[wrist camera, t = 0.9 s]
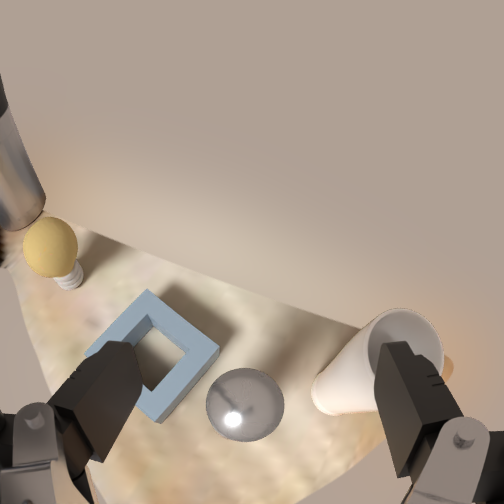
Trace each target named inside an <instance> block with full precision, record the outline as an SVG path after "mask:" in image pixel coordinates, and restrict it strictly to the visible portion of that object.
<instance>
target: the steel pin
mask: <svg viewBox="0 0 504 504" xmlns="http://www.w3.org/2000/svg"><path fill="white" fill-rule="evenodd" d="M206 411H207V415H208V418H209V420H210V422H211V424H212V426H213V428H214V430H215V431H216V433H217V434H218V435H220V436H221V437H223V438H226V439H230V440H235V441H240V442H251V441H256V440H259V439H262V438H264V437H266V436H268V435H269V434H270V433H272V432H273V431H274V430H275V429H276V427H277V426H278V425H279V423H280V421H281V419H282V416H283V413H284V398H283V394H282V392H281V390H280V388H279V386H278V385H277V383H276V382H275V381H274V380H273V379H272V378H271V377H269V376H268V375H267V374H265V373H263V372H261V371H258V370H255V369H250V368H239V369H234V370H231V371H228V372H226V373H224V374H223V375H221V376H220V377H219V378H217V379H216V380H215V382H214V383H213V384H212V386H211V387H210V389H209V391H208V394H207V398H206Z"/></svg>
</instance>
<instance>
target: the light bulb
mask: <svg viewBox="0 0 504 504" xmlns="http://www.w3.org/2000/svg"><path fill="white" fill-rule="evenodd" d="M23 251H24V256H25V259H26V261H27V263H28V265H29V266H30V267H31V269H32V270H33V271H34V272H36V273H37V274H39V275H41V276H44V277H48V278H54V280H55V281H56V282H57V284H58V285H59V286H60V287H61V288H62V289H64V290H73V289H75V288H77V287H78V286H79V285H80V284H81V282H82V280H83V275H84V273H83V269H82V267H81V266H80V264H79V263H78V261H77V259H76V257H77V251H78V244H77V238H76V236H75V233H74V231H73V230H72V228H71V227H70V226H69V225H68V224H67V223H66V222H64V221H62V220H61V219H58V218H54V217H45V218H43V219H40V220H39V221H37V222H36V223H35V224H34V225H33V226H32V227H31V228H30V229H29V230H28V232H27V234H26V235H25V238H24V241H23Z"/></svg>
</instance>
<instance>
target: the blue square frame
mask: <svg viewBox="0 0 504 504" xmlns="http://www.w3.org/2000/svg"><path fill="white" fill-rule="evenodd" d="M153 326H154V327H155V328H156V329H158V330H159V331H160V332H161V333H162V334H163V335H165V336H166V337H167V338H168V339H169V340H171V341H172V342H173V343H174V344H176V345H177V346H178V347H179V348H180V349H182V350H183V351H184V352H185V353H186V354H185V355H184V356H183V357H182V358H181V359H180V361H179V362H178V363H177V364H176V365H175V366H174V367H173V369H172V370H171V371H170V372H169V373H168V374H167V375H166V376H165V378H164V379H163V380H162V381H161V382H160V383H159V384H158V386H157V387H156V388H155V389H154V390H153V391H150V390H149V389H148V388H147V387H146V386H145V385H144V384H143V388H142V393H141V395H140V397H139V399H138V401H137V403H136V404H135V405H136V406H137V407H138V408H139V409H140V410H141V411H142V412H143V413H145V414H146V415H147V416H148V417H149V418H150V419H152V420H153V421H154V422H156V423H160V424H161V423H162V422H163V421H164V420H165V419H166V418H167V417H168V415H169V414H170V413H171V412H172V411H173V410H174V409H175V407H176V406H177V405H178V404H179V403H180V402H181V400H182V399H183V398H184V397H185V396H186V395H187V393H188V392H189V391H190V390H191V389H192V388H193V386H194V385H195V384H196V383H197V382H198V381H199V379H200V378H201V377H202V376H203V375H204V373H205V372H206V371H207V370H208V369H209V368H210V366H211V365H212V364H213V363H214V362H215V360H216V359H217V358H218V357H219V353H220V346H219V345H217V344H216V343H215V342H213V341H212V340H211V339H209V338H208V337H207V336H206V335H204V334H203V333H202V332H200V331H199V330H198V329H196V328H195V327H194V326H193V325H191V324H190V323H189V322H187V321H186V320H185V319H184V318H182V317H181V316H180V315H179V314H177V313H176V312H175V311H174V310H172V309H171V308H170V307H169V306H168V305H166V304H165V303H164V302H163V301H161V300H160V299H159V298H158V297H157V296H155V295H154V294H153V293H152V292H151V291H150V290H148V289H146V290H145V291H144V292H143V293H142V294H141V295H140V296H139V297H138V298H137V299H136V300H135V301H134V302H133V303H132V304H131V305H130V306H129V307H128V308H127V309H126V310H125V311H124V312H123V313H122V314H121V315H120V316H119V317H118V318H117V319H116V320H115V321H114V322H113V323H112V324H111V325H110V327H109V328H108V329H107V330H106V331H105V332H104V333H103V334H102V335H101V336H100V337H99V338H98V339H97V340H96V341H95V342H94V343H93V344H92V345H91V347H90V348H89V349H88V350H87V351H86V352H85V353H84V354H85V355H86V357H87V358H88V357H90V356H91V355H93V354H94V353H97V352H98V351H99V350H100V349H101V348H102V346H103V345H104V344H105V343H106V342H107V341H109V340H112V341H122V342H129V343H131V345H132V347H134V346H135V345H136V344H137V343H138V342H139V341H140V340H141V339H142V338H143V337H144V335H145V334H146V333H147V332H148V331H149V330H150V329H151V328H152V327H153Z"/></svg>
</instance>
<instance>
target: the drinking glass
mask: <svg viewBox="0 0 504 504" xmlns="http://www.w3.org/2000/svg"><path fill="white" fill-rule="evenodd" d="M397 341H406V342H407V343H408V344H409V346H410V348H411V349H412V351H413V353H414V355H420V354H421V355H423V356H424V357H425V358H427V359H428V360H430V361H431V362H432V363H433V364H434V366H435V367H436V369H437V371H438V372H439V376H441V375H442V372H443V367H444V350H443V345H442V342H441V339H440V337H439V335H438V333H437V331H436V329H435V328H434V326H433V325H432V324H431V323H430V322H429V321H428V320H427V319H426V318H425V317H424V316H422V315H421V314H419V313H417V312H415V311H412V310H409V309H405V308H395V309H390V310H387V311H385V312H383V313H381V314H380V315H379V316H377V317H376V318H375V319H373V320H372V321H371V322H370V323H368V324H367V325H366V326H365V327H363V328H362V329H361V330H360V331H359V332H358V333H357V334H356V335H355V336H354V337H353V338H352V339H351V340H350V341H349V342H348V343H347V344H346V345H345V346H344V348H343V349H342V350H341V351H340V352H339V354H338V355H337V356H336V357H335V358H334V359H333V360H332V362H331V363H330V364H329V365H328V366H327V367H326V368H325V369H324V370H323V371H322V372H320V373H319V374H318V375H317V377H316V378H315V380H314V381H313V384H312V388H311V395H312V400H313V402H314V404H315V405H316V407H317V408H318V409H319V410H320V411H322V412H323V413H325V414H328V415H342V414H349V413H363V412H375V411H378V408H377V405H376V401H375V397H374V380H375V375H376V370H377V365H378V359H379V353H380V348H381V345H382V344H383V343H387V342H397Z"/></svg>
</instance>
